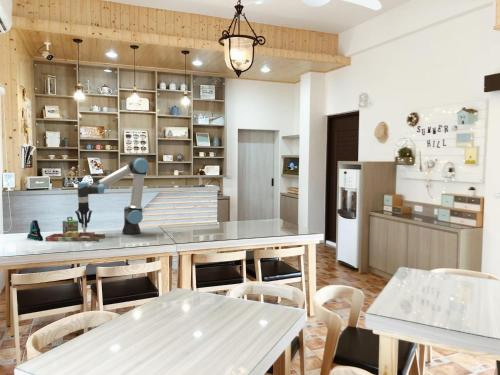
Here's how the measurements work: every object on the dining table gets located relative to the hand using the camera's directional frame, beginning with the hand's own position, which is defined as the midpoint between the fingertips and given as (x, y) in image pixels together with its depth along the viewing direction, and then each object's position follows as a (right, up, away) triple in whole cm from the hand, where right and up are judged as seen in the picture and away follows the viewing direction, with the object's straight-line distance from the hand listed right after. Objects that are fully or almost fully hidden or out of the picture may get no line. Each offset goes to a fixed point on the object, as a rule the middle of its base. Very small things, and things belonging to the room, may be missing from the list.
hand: (84, 231), depth 329 cm
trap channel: (-7, -6, +4) cm, 10 cm away
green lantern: (-19, -5, +19) cm, 27 cm away
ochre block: (-10, -6, 0) cm, 12 cm away
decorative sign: (-39, -6, -1) cm, 39 cm away
